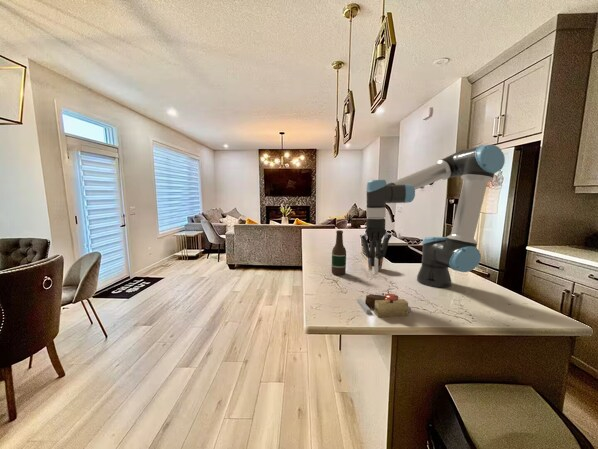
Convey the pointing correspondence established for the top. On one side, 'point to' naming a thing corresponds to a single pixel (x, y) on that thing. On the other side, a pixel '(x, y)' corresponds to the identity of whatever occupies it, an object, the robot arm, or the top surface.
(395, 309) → the red dome button
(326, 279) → the top surface
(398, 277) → the top surface
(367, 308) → the rails
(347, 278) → the top surface
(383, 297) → the brick
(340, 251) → the beer bottle
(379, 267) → the coffee cup
